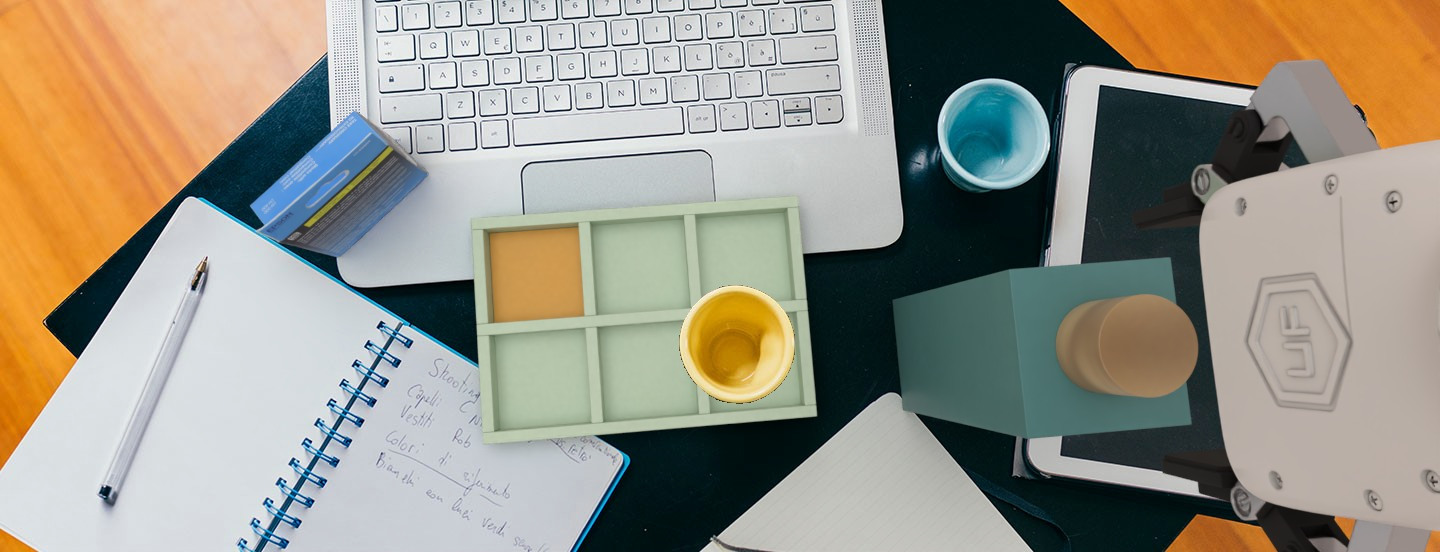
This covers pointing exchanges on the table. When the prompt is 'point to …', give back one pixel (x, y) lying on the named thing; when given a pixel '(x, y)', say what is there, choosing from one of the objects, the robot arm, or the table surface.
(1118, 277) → the plinth
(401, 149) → the label tape box
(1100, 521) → the table surface
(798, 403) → the grid
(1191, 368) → the tan cylinder
